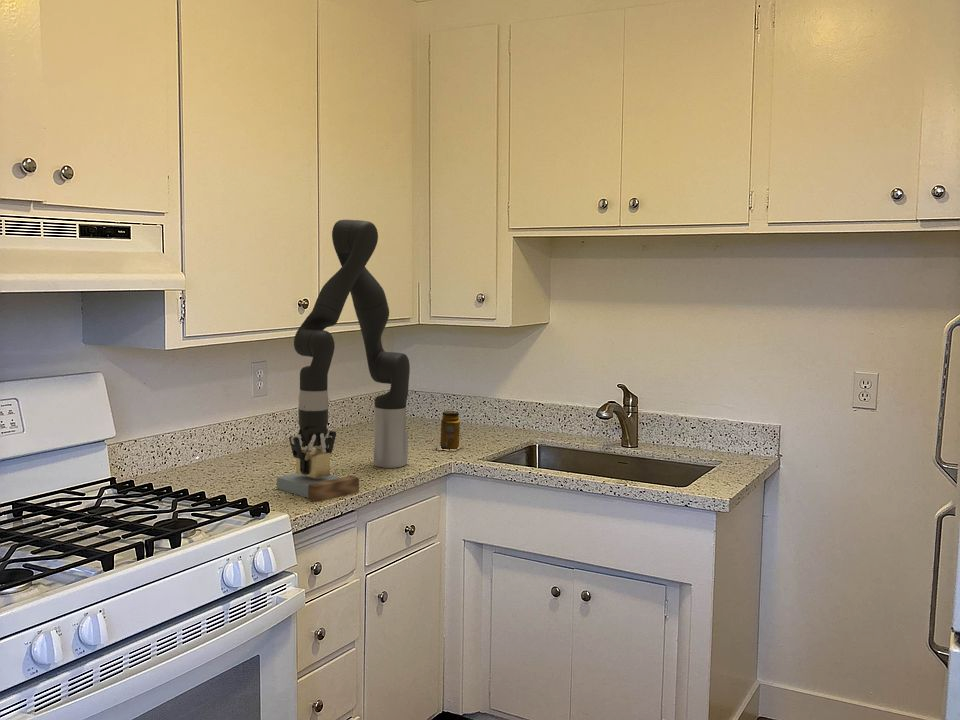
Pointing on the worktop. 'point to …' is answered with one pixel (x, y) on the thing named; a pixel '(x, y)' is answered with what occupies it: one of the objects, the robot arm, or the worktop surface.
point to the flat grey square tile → (299, 483)
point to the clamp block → (316, 464)
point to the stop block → (333, 488)
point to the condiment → (450, 430)
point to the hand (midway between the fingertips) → (312, 472)
